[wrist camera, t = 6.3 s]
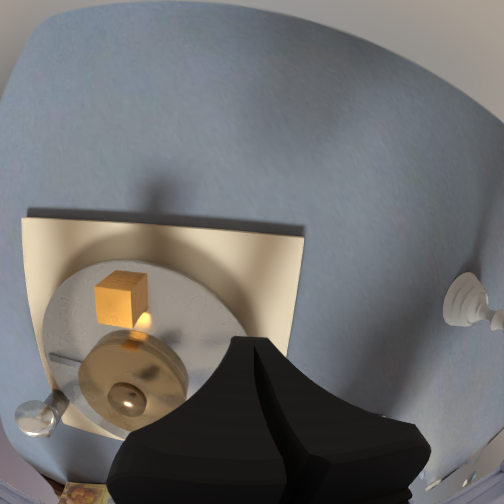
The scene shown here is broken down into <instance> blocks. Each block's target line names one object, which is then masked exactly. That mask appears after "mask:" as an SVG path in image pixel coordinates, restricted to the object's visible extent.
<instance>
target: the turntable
mask: <svg viewBox="0 0 504 504" xmlns="http://www.w3.org/2000/svg"><path fill="white" fill-rule="evenodd" d="M117 330H135V331H140V332H143V333H147V334H149V335H151V336H154V337H156V338H157V339H159V340H161V341H162V342H164V343H165V344H167V345H168V346H169V347H170V348H172V349H173V350H174V351H175V352H176V353H177V355H178V356H179V357H180V358H181V360H182V362H183V363H184V365H185V367H186V370H187V373H188V377H189V387H188V392H187V398H186V400H188V399H189V398H190V397H191V396H192V395H193V394H194V393H196V392H197V391H198V390H199V389H200V388H201V387H202V385H203V384H204V383H205V382H206V381H207V380H208V379H209V378H210V376H211V375H212V374H213V372H214V371H215V370H216V368H217V367H218V365H219V364H220V362H221V361H222V359H223V357H224V355H225V354H226V352H227V350H228V347H229V345H230V341H231V338H232V337H233V336H247V337H249V336H248V334H247V332H246V329H245V327H244V326H243V324H242V323H241V321H240V319H239V318H238V316H237V315H236V314H235V312H234V311H233V310H232V309H231V308H230V306H229V305H228V304H227V303H226V302H225V301H224V300H223V299H222V298H221V297H220V296H219V295H218V294H217V293H216V292H215V291H213V290H212V289H211V288H209V287H208V286H207V285H205V284H204V283H203V282H201V281H200V280H198V279H196V278H194V277H193V276H191V275H189V274H187V273H186V272H183V271H181V270H179V269H176V268H174V267H172V266H169V265H166V264H163V263H159V262H156V261H152V260H146V259H139V258H116V259H108V260H104V261H101V262H97V263H94V264H92V265H90V266H88V267H85V268H83V269H82V270H80V271H78V272H77V273H75V274H74V275H72V276H71V277H69V278H68V279H67V280H65V281H64V282H63V283H62V284H61V285H60V286H59V287H58V288H57V289H56V291H55V292H54V294H53V295H52V297H51V299H50V301H49V303H48V305H47V308H46V310H45V314H44V319H43V326H42V340H43V348H44V353H45V357H46V360H47V363H48V366H49V368H50V371H51V373H52V375H53V377H54V379H55V381H56V382H57V384H58V386H59V387H60V389H61V390H62V392H63V393H64V394H65V396H66V397H67V398H68V399H69V401H70V402H71V403H72V404H73V405H74V406H75V407H76V408H77V409H78V410H79V411H80V412H81V413H82V414H83V415H84V416H86V417H87V418H88V419H89V420H91V421H92V422H93V423H95V424H96V425H98V426H99V427H101V428H102V429H104V430H106V431H108V432H109V433H111V434H113V435H115V436H117V437H120V438H122V439H126V437H127V436H128V434H129V433H130V431H127V430H124V429H121V428H119V427H117V426H115V425H113V424H111V423H110V422H108V421H106V420H105V419H104V418H102V417H101V416H100V415H99V414H98V413H96V412H95V411H94V410H93V408H92V407H91V406H90V405H89V404H88V402H87V401H86V399H85V398H84V396H83V394H82V392H81V389H80V386H79V382H78V371H79V367H80V365H81V363H82V361H83V360H84V359H85V358H86V356H87V355H88V354H89V352H90V351H91V350H92V349H93V347H94V346H95V345H96V343H97V342H98V341H99V340H100V339H101V338H102V337H103V336H104V335H106V334H108V333H110V332H113V331H117Z"/></svg>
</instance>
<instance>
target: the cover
mask: <svg viewBox="0 0 504 504" xmlns="http://www.w3.org/2000/svg"><path fill="white" fill-rule="evenodd" d="M78 382H79V386H80V389H81V392H82V394H83V396H84V398H85V399H86V401H87V402H88V404H89V405H90V406H91V407H92V408H93V410H94V411H95V412H96V413H98V414H99V415H100V416H101V417H102V418H104V419H105V420H106V421H108V422H110V423H111V424H113V425H115V426H117V427H119V428H121V429H124V430H127V431H130V432H132V431H135V430H137V429H140V428H142V427H144V426H146V425H149V424H151V423H153V422H155V421H157V420H159V419H160V418H162V417H164V416H165V415H167V414H168V413H170V412H171V411H173V410H174V409H176V408H177V407H179V406H180V405H181V404H183V403H184V402H185V401H186V398H187V392H188V387H189V377H188V373H187V370H186V367H185V365H184V363H183V362H182V360H181V358H180V357H179V356H178V355H177V353H176V352H175V351H174V350H173V349H172V348H170V347H169V346H168V345H167V344H165V343H164V342H162V341H161V340H159V339H157V338H156V337H154V336H151V335H149V334H147V333H143V332H140V331H135V330H117V331H113V332H110V333H108V334H106V335H104V336H103V337H102V338H101V339H100V340H99V341H98V342H97V343H96V345H95V346H94V347H93V349H92V350H91V351H90V352H89V354H88V355H87V356H86V358H85V359H84V360H83V361H82V363H81V365H80V367H79V371H78Z"/></svg>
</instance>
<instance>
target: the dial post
mask: <svg viewBox="0 0 504 504" xmlns="http://www.w3.org/2000/svg"><path fill="white" fill-rule="evenodd" d="M69 405H70V401H69V399H68V398H67V397H66V396H65V394H64V393H63V392H62V391H60V390H57V389H54V390H53V391H52V392H51V394H50V395H49V396H48V398H47V399H46V400H45V402H41V401H28V402H25V403H23V404H21V405H20V406H19V407H18V408H17V410H16V412H15V420H16V422H17V424H18V426H19V428H20V429H21V431H22V432H23V433H24V434H26V435H28V436H31V437H43V436H44V437H47V438H48V437H50V435H51V434H52V432H53V430H54V429H55V427H56V425H57V424H58V422H59V421H60V419H61V417H62V416H63V414H64V413H65V411H66V409H67V408H68V406H69Z"/></svg>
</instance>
